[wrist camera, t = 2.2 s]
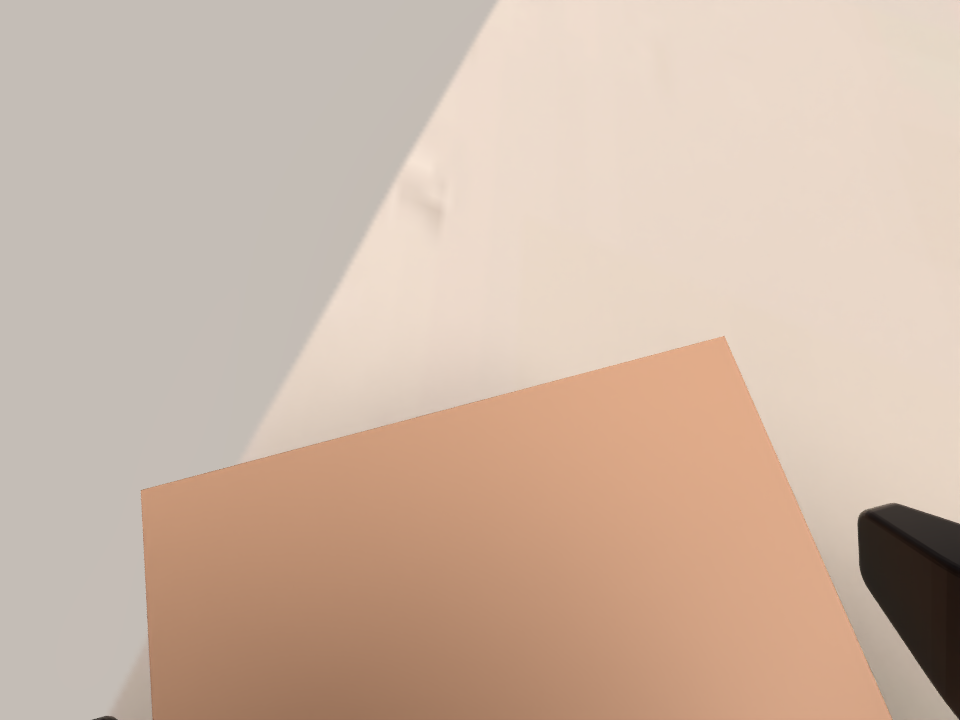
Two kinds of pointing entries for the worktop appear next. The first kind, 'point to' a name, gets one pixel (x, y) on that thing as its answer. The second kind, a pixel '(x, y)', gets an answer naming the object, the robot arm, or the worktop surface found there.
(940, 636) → the robot arm
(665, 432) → the rectangular block
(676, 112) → the worktop surface
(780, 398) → the worktop surface
